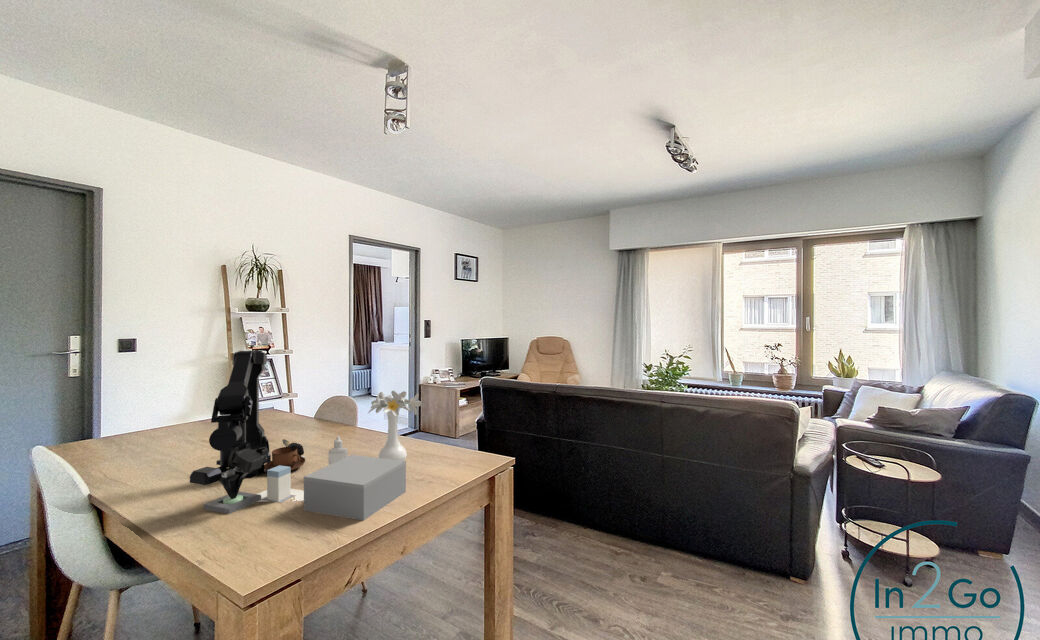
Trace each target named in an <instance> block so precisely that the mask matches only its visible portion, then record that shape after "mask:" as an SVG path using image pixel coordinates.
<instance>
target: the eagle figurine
mask: <svg viewBox="0 0 1040 640" xmlns="http://www.w3.org/2000/svg"><path fill="white" fill-rule="evenodd" d="M282 443H283V445H284V447H289V448H291V449H292V451H294V450H295V448H297V454H298V455H299V456H300V457H303V458H305V459H306V457H305V456H304V454H305V451H304V446H303V445H302V444H300V443H297V442H289V440H287V439H284V438H283V439H282ZM297 460H298V457H297Z"/></svg>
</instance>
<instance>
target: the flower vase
mask: <svg viewBox="0 0 1040 640" xmlns="http://www.w3.org/2000/svg"><path fill="white" fill-rule="evenodd" d="M406 396H407V392H406V391H405V390H404V391H401V392H396V391H395V390H391V393H390V394H388V395H387V396H385V394H384V392H383V391H379V393H377V396H376V398H375V399H374V400H372V401H371V403H370V404H371V406H370V409H369V411H368V412H367V414H369V413H371V412H372V411H374V410H375V413H376V414H378V413H379V412H380V411H382V410H383V413H385V414H386V415H387V421H388V422H387V425H388V426H387V439H386V440H385V441H386V442H385V444H384V446H383V447H382V448H381V449H380V450H379V452H378V456H377V458H384V459H392V460H401V461H406V458H407V456H408V454H407V448H405V447H404V446H403V445H402V443H401V442H400V439H399V434H398V433H399V432H398V417H399V415H400V409H403V410H406V411H408V412H409V413H413V414H414V415H415V416H417V415H418V408H419V407H421V406H422V404H423V403H422V400H421V401H420V400H418V398H419V396H420V395H419V393H416V394H415V395H414V397H410V399H408V398H406Z"/></svg>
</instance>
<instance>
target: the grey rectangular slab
mask: <svg viewBox="0 0 1040 640" xmlns="http://www.w3.org/2000/svg"><path fill="white" fill-rule="evenodd" d="M303 491H304V501H303V511H305V512H311V513H315V514H316V513H317V514H324V515H330V516H333V517H340V518H348V519H353V520H360V521H365V520H367V519H368V518H370V517H371V516H373V515H374V514H376V513H377V512H379V511H380V510H382V509H383V508H385V507H386V506H387V505H389V504H390V503H392V502H393V501H395V500H396V499H398V498H399V497H401V496H402V495H404V494H405V493H406V492H407V462H406V460H404V461H401V460H392V459H384V458H378V457H374V456H373V457H372V456H366V455H365V456H364V455H357V454H356V455H355V454H351V455H348V457H346V458H344V459H342V460H340V461H337V462H335V463H333V464H331V465H329V464H328V465H327V466H324V467H322V468H320V469H318V470H315V471H313V472H311V473H309V474H306V475H304V476H303Z"/></svg>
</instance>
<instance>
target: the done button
mask: <svg viewBox="0 0 1040 640" xmlns="http://www.w3.org/2000/svg"><path fill="white" fill-rule="evenodd" d="M241 500H243V496H242V495H237V497H236V498H234V499H231V498H230V497H227V498H225V499H224V500H223V504H229V505H232V504H234V503H237V502H239V501H241Z"/></svg>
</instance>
